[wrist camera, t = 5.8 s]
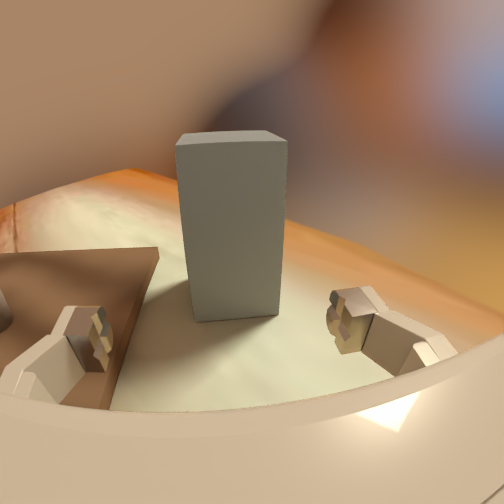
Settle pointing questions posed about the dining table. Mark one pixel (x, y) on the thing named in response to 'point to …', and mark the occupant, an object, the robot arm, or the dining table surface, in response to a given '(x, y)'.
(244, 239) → the tall grey rectangular prism
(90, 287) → the walnut base
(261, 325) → the dining table surface
